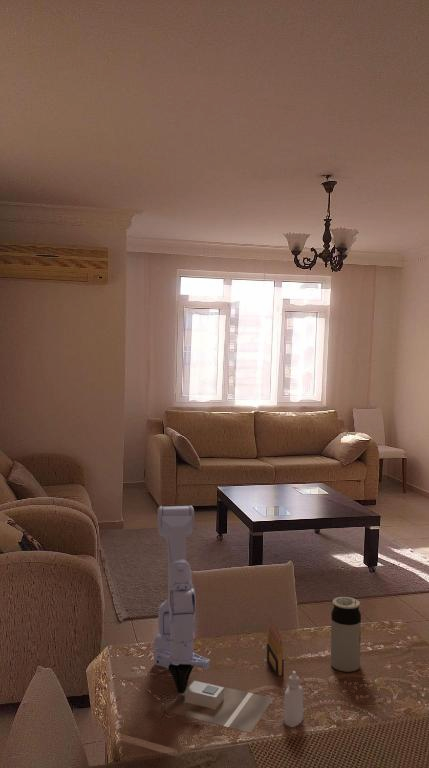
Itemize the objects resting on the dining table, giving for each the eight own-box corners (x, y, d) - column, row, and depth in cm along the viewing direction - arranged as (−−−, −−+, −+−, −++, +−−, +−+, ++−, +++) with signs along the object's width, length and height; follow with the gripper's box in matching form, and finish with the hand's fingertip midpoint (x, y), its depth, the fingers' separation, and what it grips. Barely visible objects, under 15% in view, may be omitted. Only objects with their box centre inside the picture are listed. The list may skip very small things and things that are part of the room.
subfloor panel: (164, 714, 158) (164, 710, 158) (193, 683, 172) (193, 679, 172) (250, 737, 149) (250, 733, 149) (273, 702, 164) (273, 698, 164)
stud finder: (185, 702, 162) (185, 689, 161) (194, 692, 166) (194, 680, 166) (215, 709, 158) (215, 696, 158) (223, 699, 163) (223, 686, 163)
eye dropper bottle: (278, 719, 156) (278, 670, 155) (298, 714, 158) (299, 665, 158) (288, 729, 152) (288, 678, 151) (308, 723, 154) (309, 673, 154)
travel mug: (327, 669, 180) (328, 604, 179) (333, 656, 188) (334, 594, 187) (357, 675, 177) (358, 609, 176) (362, 661, 185) (363, 598, 184)
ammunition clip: (283, 678, 175) (284, 634, 174) (277, 679, 175) (277, 635, 174) (273, 660, 186) (273, 618, 185) (266, 660, 185) (267, 618, 185)
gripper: (148, 639, 163) (148, 692, 164) (201, 650, 157) (201, 705, 158) (161, 627, 170) (161, 679, 170) (213, 638, 164) (213, 691, 165)
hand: (181, 691), depth 165 cm, fingers closed
